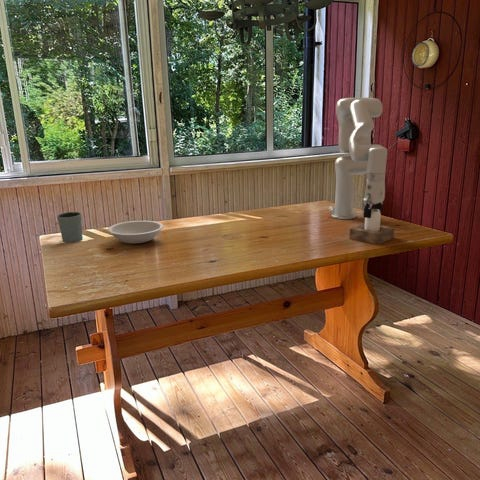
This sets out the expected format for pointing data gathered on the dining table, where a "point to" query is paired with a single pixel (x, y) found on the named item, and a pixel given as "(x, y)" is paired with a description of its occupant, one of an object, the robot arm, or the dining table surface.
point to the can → (373, 221)
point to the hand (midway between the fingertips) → (372, 215)
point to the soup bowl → (135, 231)
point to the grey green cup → (70, 226)
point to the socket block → (371, 234)
